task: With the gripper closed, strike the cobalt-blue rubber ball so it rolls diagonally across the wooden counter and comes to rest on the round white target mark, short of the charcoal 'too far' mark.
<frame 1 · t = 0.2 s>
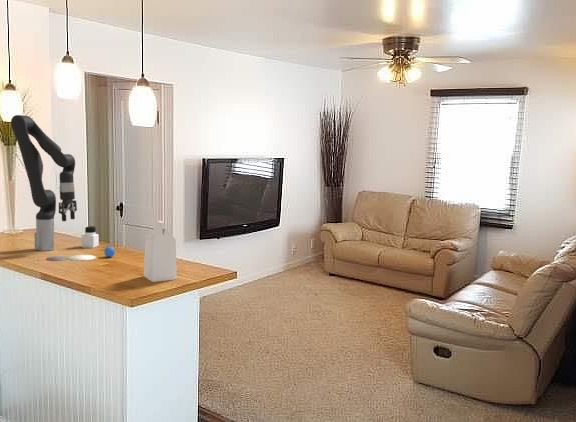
hand: (68, 220, 305), 17 cm above the table, tool pointing down, fingers open, 8 cm apart
medicine bottle: (90, 247, 322), on the table
ball: (109, 251, 295), on the table
milk: (160, 278, 254), on the table
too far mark: (56, 258, 287), on the table
target mark: (81, 257, 291), on the table
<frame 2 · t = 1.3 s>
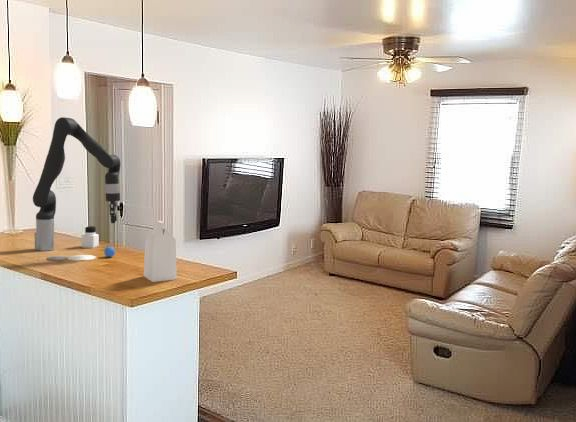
hand: (113, 222, 300), 18 cm above the table, tool pointing down, fingers open, 8 cm apart
nothing on the table moved.
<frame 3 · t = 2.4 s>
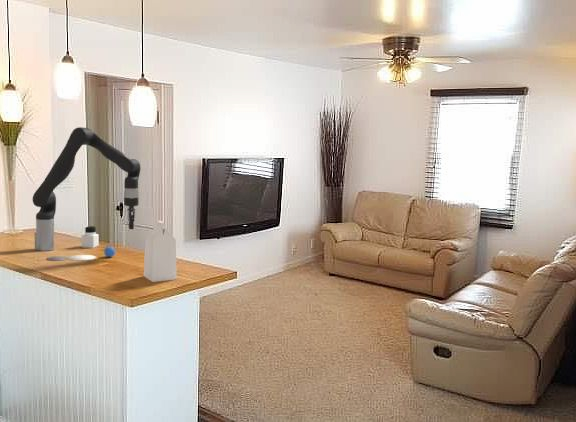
hand: (131, 228, 298), 15 cm above the table, tool pointing down, fingers open, 3 cm apart
nothing on the table moved.
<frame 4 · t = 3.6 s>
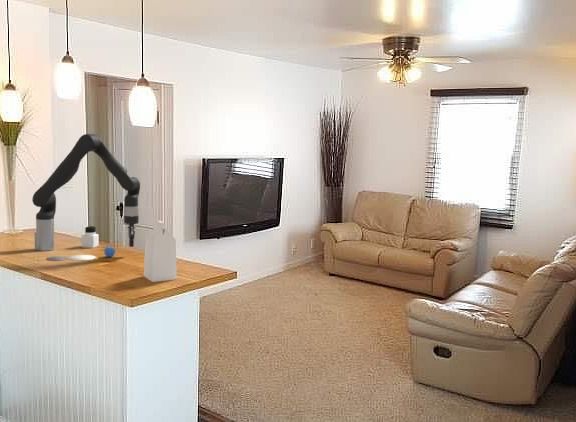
hand: (131, 246, 299), 5 cm above the table, tool pointing down, fingers closed
nothing on the table moved.
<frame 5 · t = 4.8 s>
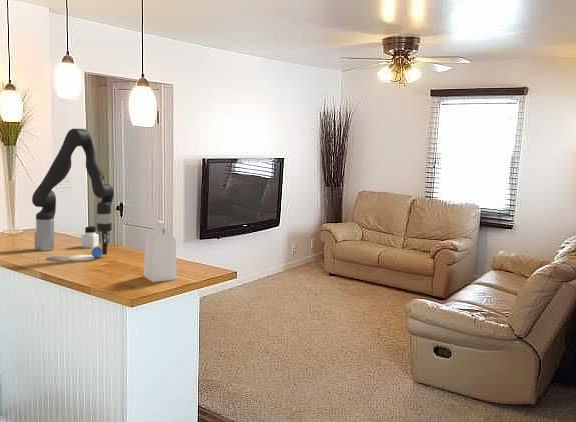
hand: (104, 254, 295), 1 cm above the table, tool pointing down, fingers closed
ball: (97, 252, 292), on the table, touching gripper
everything else where it was.
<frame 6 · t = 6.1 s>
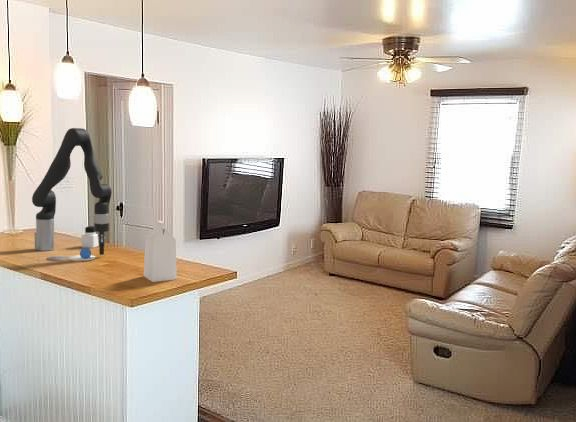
hand: (101, 254, 294), 2 cm above the table, tool pointing down, fingers closed
ball: (85, 253, 289), on the table
everything else where it was.
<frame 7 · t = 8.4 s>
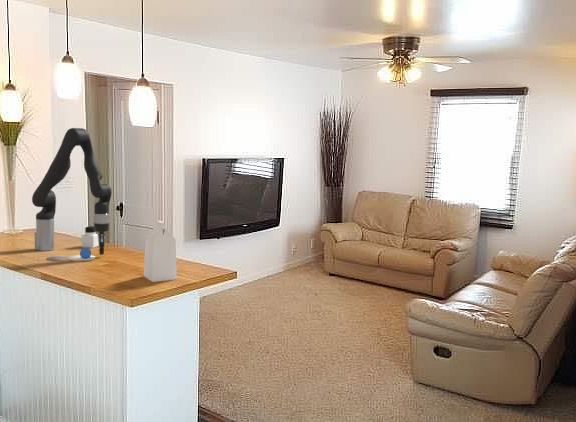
hand: (101, 254, 294), 2 cm above the table, tool pointing down, fingers closed
nothing on the table moved.
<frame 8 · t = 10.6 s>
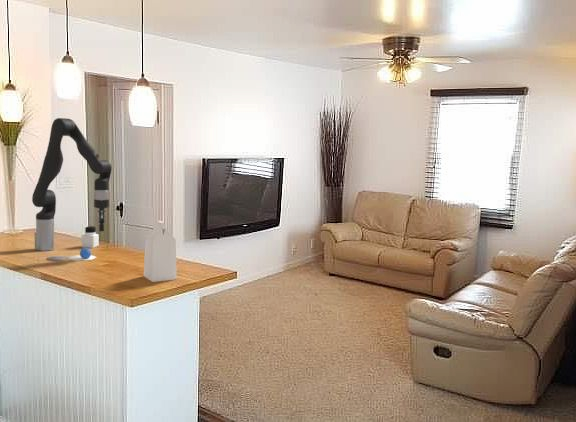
hand: (101, 231, 293), 14 cm above the table, tool pointing down, fingers closed
nothing on the table moved.
at the end: ball 3.0 cm from the target mark (horizontally); ball at rest at the end (0.0 cm/s); ball moved 12.3 cm from its start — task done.
